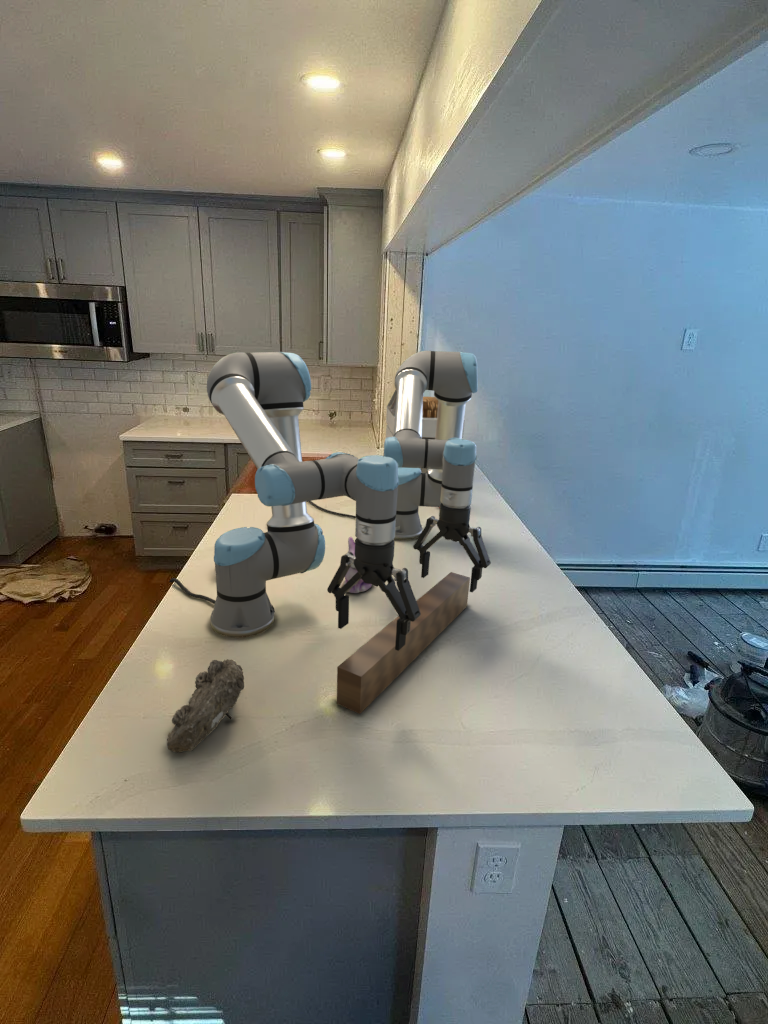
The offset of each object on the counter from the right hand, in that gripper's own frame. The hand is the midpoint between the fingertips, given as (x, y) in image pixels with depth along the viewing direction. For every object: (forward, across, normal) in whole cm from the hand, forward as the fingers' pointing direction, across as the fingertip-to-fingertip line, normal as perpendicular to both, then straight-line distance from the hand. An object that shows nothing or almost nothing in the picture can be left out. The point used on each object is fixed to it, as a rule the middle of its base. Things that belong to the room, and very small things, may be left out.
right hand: (448, 583), depth 145 cm
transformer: (+8, -69, +116) cm, 135 cm away
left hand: (-3, 0, -37) cm, 37 cm away
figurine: (+9, -27, 0) cm, 29 cm away
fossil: (+10, -20, -61) cm, 65 cm away
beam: (+10, 0, -18) cm, 21 cm away
